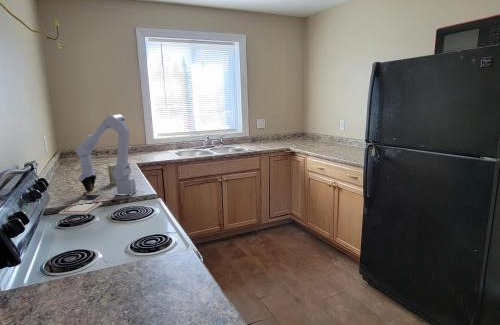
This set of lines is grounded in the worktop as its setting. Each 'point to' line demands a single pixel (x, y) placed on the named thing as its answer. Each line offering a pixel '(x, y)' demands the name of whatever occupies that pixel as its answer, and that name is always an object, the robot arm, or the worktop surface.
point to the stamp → (90, 190)
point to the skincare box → (111, 173)
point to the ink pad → (90, 197)
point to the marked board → (80, 209)
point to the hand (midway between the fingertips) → (89, 189)
